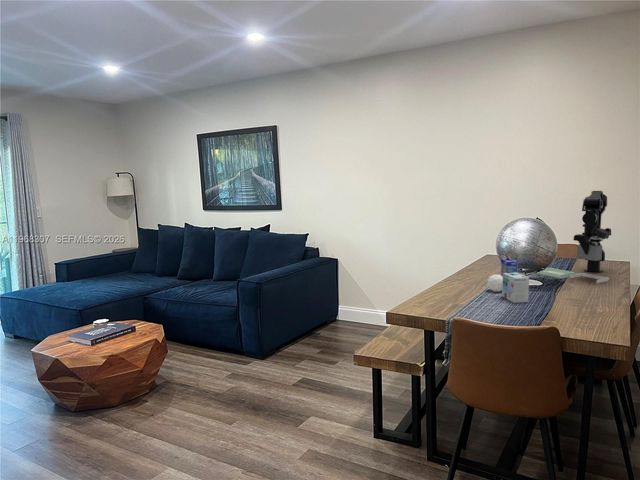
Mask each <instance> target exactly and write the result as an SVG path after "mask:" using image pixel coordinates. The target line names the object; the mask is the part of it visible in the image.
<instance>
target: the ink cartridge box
mask: <svg viewBox="0 0 640 480" xmlns="http://www.w3.org/2000/svg"><path fill="white" fill-rule="evenodd" d="M509 258H510V257H509V256H508V255H507V254H505V257H501V258H500V275H501V276H502V277H503V273H514V272H517V273H519V272H518V271H519V270H518V261H517V260H516V259H514V258H512V259H509ZM513 259H514V260H513Z"/></svg>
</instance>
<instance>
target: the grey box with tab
mask: <svg viewBox="0 0 640 480" xmlns="http://www.w3.org/2000/svg"><path fill="white" fill-rule="evenodd" d="M591 243H595V245H593V244H589V251H588V254H587V255H586V254H585V253H584V251H583V249H582V247H581V245H580V243H579V244H578V246H577V247H578V248H577V259H582V260H585V259H587V260H586V261H588V260H593V261H597V260H602V250H603V245H602V244H601V245H602V246H601V245H597V242H591Z"/></svg>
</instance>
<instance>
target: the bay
mask: <svg viewBox="0 0 640 480" xmlns="http://www.w3.org/2000/svg"><path fill="white" fill-rule="evenodd" d="M579 277H584V278H585V277H586V278H590V279H596V282H595V283H596V284H601V283H606V282H609V281H610V277H606V276H601V275H595V274H589V273H584V272H580V273H575V274H574V275H570V277H569V279H573V278H579Z"/></svg>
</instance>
